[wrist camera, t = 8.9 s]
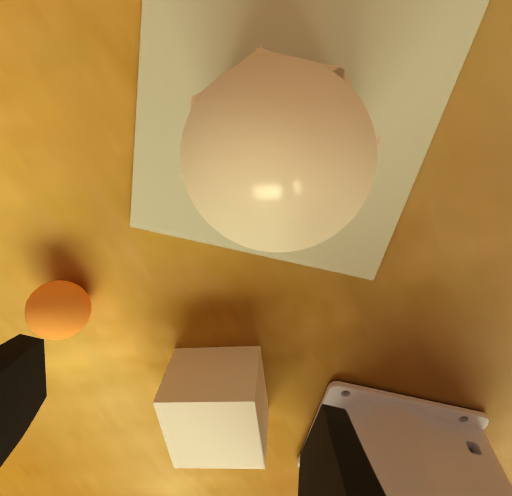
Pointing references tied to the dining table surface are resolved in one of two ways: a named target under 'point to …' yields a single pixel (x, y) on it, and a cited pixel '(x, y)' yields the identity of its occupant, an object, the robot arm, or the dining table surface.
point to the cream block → (214, 408)
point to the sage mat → (314, 49)
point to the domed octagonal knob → (278, 152)
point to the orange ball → (57, 310)
